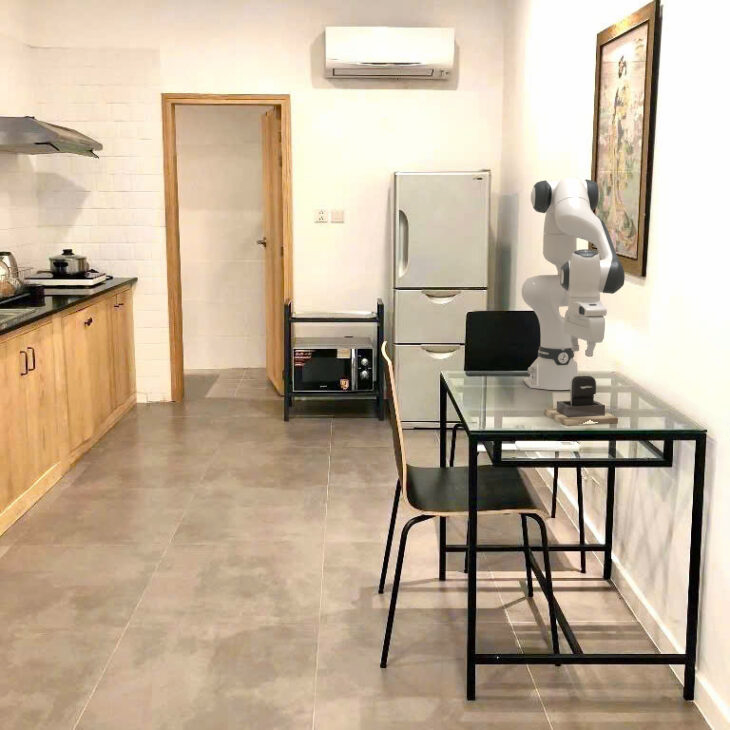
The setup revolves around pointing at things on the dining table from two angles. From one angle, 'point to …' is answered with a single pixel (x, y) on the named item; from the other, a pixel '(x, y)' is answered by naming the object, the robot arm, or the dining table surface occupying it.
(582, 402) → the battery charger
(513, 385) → the dining table surface
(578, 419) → the dock
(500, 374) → the dining table surface
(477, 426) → the dining table surface
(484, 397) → the dining table surface
